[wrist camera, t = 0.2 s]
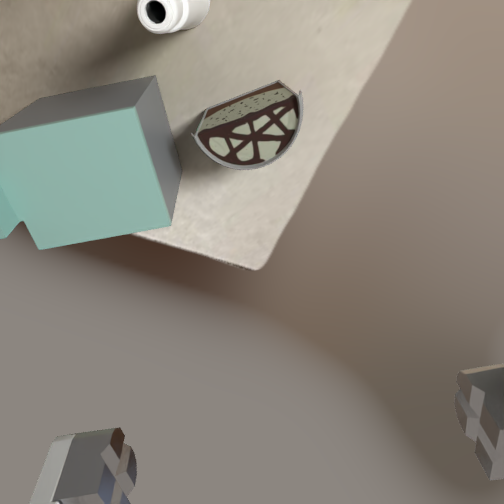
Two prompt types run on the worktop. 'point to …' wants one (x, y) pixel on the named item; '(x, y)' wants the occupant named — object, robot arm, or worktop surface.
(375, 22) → the worktop surface
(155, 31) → the cosmetic bottle
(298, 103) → the food container
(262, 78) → the worktop surface
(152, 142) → the tub
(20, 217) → the lid
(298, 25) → the worktop surface
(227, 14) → the worktop surface
